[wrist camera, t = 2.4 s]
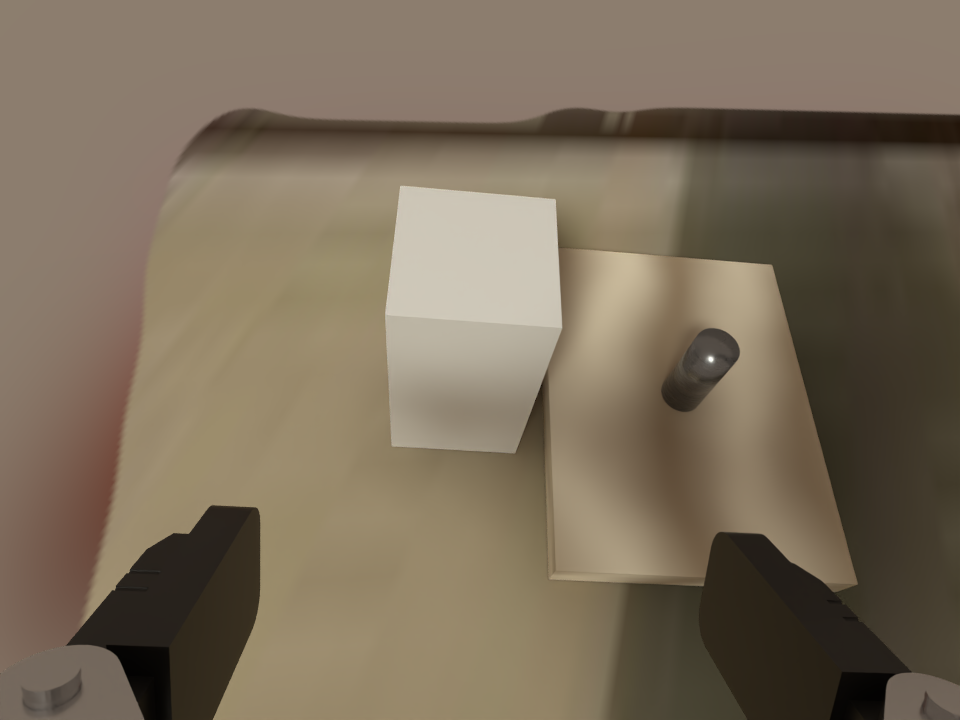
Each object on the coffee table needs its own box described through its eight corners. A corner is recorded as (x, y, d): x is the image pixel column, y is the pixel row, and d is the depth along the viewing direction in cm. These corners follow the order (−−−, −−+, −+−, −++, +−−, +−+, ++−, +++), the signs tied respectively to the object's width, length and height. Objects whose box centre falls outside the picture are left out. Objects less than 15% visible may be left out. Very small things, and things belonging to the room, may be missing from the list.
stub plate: (758, 282, 35) (813, 210, 30) (836, 592, 27) (928, 559, 22) (538, 264, 34) (559, 187, 29) (548, 579, 26) (580, 542, 21)
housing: (514, 349, 31) (555, 199, 23) (515, 453, 28) (562, 328, 20) (402, 341, 31) (400, 185, 22) (391, 446, 28) (385, 315, 19)
